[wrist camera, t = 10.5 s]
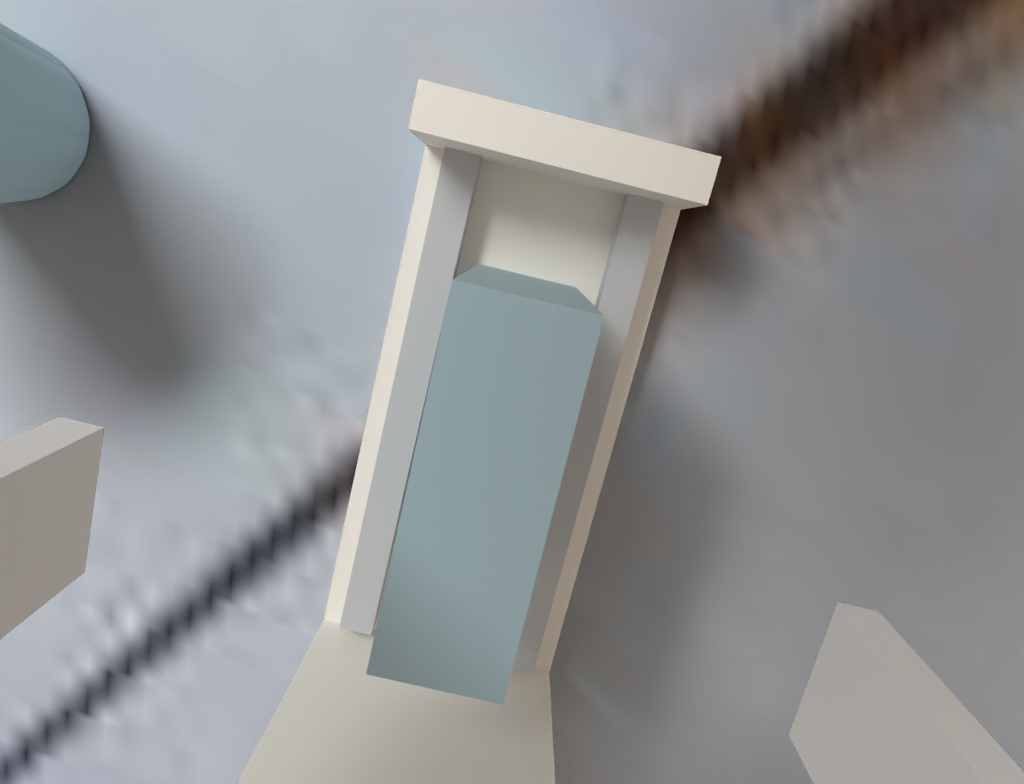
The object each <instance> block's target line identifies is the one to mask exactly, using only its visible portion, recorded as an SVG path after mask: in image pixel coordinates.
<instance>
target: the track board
mask: <svg viewBox="0 0 1024 784" xmlns="http://www.w3.org/2000/svg"><path fill="white" fill-rule="evenodd" d="M408 129H409V130H410V131H411V132H412V133H414V134H415V135H416V136H417V137H418V138H419V139H420V140H421V141H422V142H423V143H424V144H426V146H425V151H424V156H423V160H422V165H421V170H420V174H419V179H418V184H417V188H416V193H415V198H414V202H413V207H412V212H411V216H410V221H409V225H408V230H407V235H406V239H405V244H404V249H403V253H402V258H401V263H400V267H399V272H398V277H397V281H396V286H395V291H394V295H393V300H392V305H391V309H390V314H389V319H388V323H387V328H386V332H385V337H384V342H383V346H382V351H381V356H380V360H379V365H378V370H377V374H376V379H375V384H374V388H373V393H372V398H371V402H370V407H369V412H368V416H367V421H366V426H365V430H364V435H363V439H362V444H361V449H360V453H359V458H358V463H357V467H356V472H355V477H354V481H353V486H352V491H351V495H350V500H349V505H348V509H347V514H346V519H345V523H344V528H343V533H342V537H341V542H340V546H339V551H338V556H337V560H336V565H335V570H334V574H333V579H332V584H331V588H330V593H329V598H328V602H327V607H326V612H325V616H324V620H323V622H322V624H321V626H320V628H319V629H318V631H317V633H316V635H315V637H314V639H313V641H312V643H311V645H310V646H309V648H308V650H307V652H306V654H305V656H304V658H303V660H302V662H301V664H300V665H299V667H298V669H297V671H296V673H295V675H294V677H293V679H292V681H291V682H290V684H289V686H288V688H287V690H286V692H285V694H284V696H283V698H282V700H281V701H280V703H279V705H278V707H277V709H276V711H275V713H274V715H273V717H272V718H271V720H270V722H269V724H268V726H267V728H266V730H265V732H264V734H263V736H262V737H261V739H260V741H259V743H258V745H257V747H256V749H255V751H254V753H253V754H252V756H251V758H250V760H249V762H248V764H247V766H246V768H245V770H244V772H243V773H242V775H241V777H240V779H239V781H238V783H237V784H555V767H554V748H553V730H552V711H551V693H550V674H549V672H550V668H551V665H552V661H553V658H554V654H555V651H556V647H557V644H558V640H559V637H560V633H561V630H562V626H563V622H564V619H565V615H566V612H567V608H568V605H569V601H570V598H571V594H572V591H573V587H574V584H575V580H576V577H577V573H578V570H579V566H580V563H581V559H582V556H583V552H584V548H585V545H586V541H587V538H588V534H589V531H590V527H591V524H592V520H593V517H594V513H595V510H596V506H597V503H598V499H599V496H600V492H601V489H602V485H603V481H604V478H605V474H606V471H607V467H608V464H609V460H610V457H611V453H612V450H613V446H614V443H615V439H616V436H617V432H618V429H619V425H620V422H621V418H622V415H623V411H624V407H625V404H626V400H627V397H628V393H629V390H630V386H631V383H632V379H633V376H634V372H635V369H636V365H637V362H638V358H639V355H640V351H641V348H642V344H643V340H644V337H645V333H646V330H647V326H648V323H649V319H650V316H651V312H652V309H653V305H654V302H655V298H656V295H657V291H658V288H659V284H660V281H661V277H662V274H663V270H664V266H665V263H666V259H667V256H668V252H669V249H670V245H671V242H672V238H673V235H674V231H675V228H676V224H677V221H678V217H679V214H680V210H682V209H688V208H694V207H699V206H705V205H708V201H709V198H710V195H711V191H712V188H713V184H714V181H715V177H716V174H717V170H718V167H719V164H720V160H721V157H720V156H716V155H712V154H708V153H704V152H701V151H697V150H693V149H689V148H685V147H681V146H677V145H673V144H670V143H666V142H662V141H658V140H654V139H650V138H646V137H642V136H638V135H635V134H631V133H627V132H623V131H619V130H615V129H611V128H607V127H604V126H600V125H596V124H592V123H588V122H584V121H580V120H576V119H573V118H569V117H565V116H561V115H557V114H553V113H549V112H545V111H541V110H538V109H534V108H530V107H526V106H522V105H518V104H514V103H510V102H507V101H503V100H499V99H495V98H491V97H487V96H483V95H479V94H476V93H472V92H468V91H464V90H460V89H456V88H452V87H448V86H444V85H441V84H437V83H433V82H429V81H425V80H421V79H419V80H418V85H417V89H416V94H415V99H414V104H413V108H412V113H411V118H410V123H409V128H408ZM478 264H482V265H486V266H490V267H494V268H498V269H502V270H507V271H511V272H515V273H519V274H523V275H527V276H532V277H536V278H540V279H544V280H548V281H552V282H557V283H561V284H565V285H569V286H573V287H576V288H577V289H578V290H579V291H580V292H581V293H582V294H583V295H584V296H585V297H586V298H587V299H588V300H589V301H590V302H591V303H592V304H593V305H594V306H595V307H596V308H597V309H598V310H599V311H600V312H601V313H602V314H603V315H604V320H603V323H602V327H601V331H600V335H599V339H598V343H597V346H596V350H595V354H594V358H593V362H592V366H591V369H590V373H589V377H588V381H587V385H586V389H585V392H584V396H583V400H582V404H581V408H580V412H579V415H578V419H577V423H576V427H575V431H574V435H573V438H572V442H571V446H570V450H569V454H568V458H567V461H566V465H565V469H564V473H563V477H562V481H561V484H560V488H559V492H558V496H557V500H556V504H555V507H554V511H553V515H552V519H551V523H550V527H549V530H548V534H547V538H546V542H545V546H544V550H543V553H542V557H541V561H540V565H539V569H538V573H537V576H536V580H535V584H534V588H533V592H532V596H531V599H530V603H529V607H528V611H527V615H526V619H525V622H524V626H523V630H522V634H521V638H520V642H519V645H518V649H517V653H516V657H515V661H514V665H513V668H512V672H511V676H510V680H509V684H508V688H507V691H506V695H505V699H504V703H503V705H501V704H497V703H492V702H488V701H483V700H479V699H474V698H470V697H465V696H461V695H456V694H452V693H448V692H443V691H439V690H434V689H430V688H425V687H421V686H416V685H412V684H407V683H403V682H398V681H394V680H389V679H385V678H380V677H376V676H371V675H367V674H366V672H367V667H368V663H369V658H370V654H371V649H372V645H373V640H374V635H375V631H376V626H377V622H378V617H379V613H380V608H381V603H382V599H383V594H384V590H385V585H386V581H387V576H388V571H389V567H390V562H391V558H392V553H393V549H394V544H395V539H396V535H397V530H398V526H399V521H400V517H401V512H402V508H403V503H404V498H405V494H406V489H407V485H408V480H409V476H410V471H411V466H412V462H413V457H414V453H415V448H416V444H417V439H418V434H419V430H420V425H421V421H422V416H423V412H424V407H425V402H426V398H427V393H428V389H429V384H430V380H431V375H432V370H433V366H434V361H435V357H436V352H437V348H438V343H439V338H440V334H441V329H442V325H443V320H444V316H445V311H446V306H447V302H448V297H449V293H450V288H451V284H452V279H454V278H456V277H458V276H459V275H461V274H463V273H464V272H466V271H468V270H470V269H471V268H473V267H475V266H476V265H478Z"/></svg>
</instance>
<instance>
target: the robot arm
mask: <svg viewBox="0 0 1024 784" xmlns="http://www.w3.org/2000/svg"><path fill="white" fill-rule="evenodd" d="M103 432H104V427H101V426H97V425H92V424H88V423H84V422H80V421H76V420H71V419H67V418H63V417H58V418H55V419H53V420H51V421H48V422H46V423H44V424H41V425H39V426H36V427H34V428H32V429H29V430H27V431H25V432H22V433H20V434H18V435H15V436H13V437H10V438H8V439H6V440H3V441H1V442H0V639H1V638H3V637H4V636H5V635H6V634H8V633H9V632H10V631H11V630H13V629H14V628H15V627H16V626H18V625H19V624H20V623H21V622H23V621H24V620H25V619H26V618H28V617H29V616H30V615H31V614H33V613H34V612H35V611H36V610H38V609H39V608H40V607H41V606H43V605H44V604H45V603H46V602H48V601H49V600H50V599H51V598H53V597H54V596H55V595H56V594H58V593H59V592H60V591H61V590H63V589H64V588H65V587H66V586H68V585H69V584H70V583H71V582H73V581H74V580H75V579H76V578H78V577H79V576H80V575H82V574H83V573H84V572H85V567H86V559H87V552H88V544H89V537H90V529H91V522H92V514H93V507H94V499H95V492H96V485H97V477H98V470H99V462H100V455H101V447H102V440H103ZM789 736H790V738H791V740H792V742H793V744H794V746H795V748H796V750H797V752H798V754H799V756H800V758H801V760H802V762H803V764H804V766H805V768H806V770H807V772H808V774H809V775H810V777H811V779H812V781H813V783H814V784H1024V772H1023V771H1022V769H1021V768H1020V767H1019V766H1018V765H1017V764H1016V763H1015V762H1014V761H1013V759H1012V758H1011V757H1010V756H1009V755H1008V754H1007V753H1006V752H1005V751H1004V750H1003V748H1002V747H1001V746H1000V745H999V744H998V743H997V742H996V741H995V740H994V738H993V737H992V736H991V735H990V734H989V733H988V732H987V731H986V730H985V728H984V727H983V726H982V725H981V724H980V723H979V722H978V721H977V720H976V719H975V717H974V716H973V715H972V714H971V713H970V712H969V711H968V710H967V709H966V707H965V706H964V705H963V704H962V703H961V702H960V701H959V700H958V699H957V698H956V696H955V695H954V694H953V693H952V692H951V691H950V690H949V689H948V688H947V686H946V685H945V684H944V683H943V682H942V681H941V680H940V679H939V678H938V676H937V675H936V674H935V673H934V672H933V671H932V670H931V669H930V668H929V667H928V665H927V664H926V663H925V662H924V661H923V660H922V659H921V658H920V657H919V655H918V654H917V653H916V652H915V651H914V650H913V649H912V648H911V647H910V645H909V644H908V643H907V642H906V641H905V640H904V639H903V638H902V637H901V636H900V634H899V633H898V632H897V631H896V630H895V629H894V628H893V627H892V626H891V624H890V623H889V622H888V621H887V620H886V619H885V618H884V617H883V616H882V615H881V613H880V612H878V611H874V610H870V609H865V608H861V607H857V606H853V605H849V604H844V603H840V602H838V603H837V605H836V608H835V611H834V613H833V616H832V619H831V621H830V624H829V627H828V629H827V632H826V635H825V637H824V640H823V643H822V646H821V648H820V651H819V654H818V656H817V659H816V662H815V664H814V667H813V670H812V672H811V675H810V678H809V680H808V683H807V686H806V689H805V691H804V694H803V697H802V699H801V702H800V705H799V707H798V710H797V713H796V715H795V718H794V721H793V723H792V726H791V729H790V731H789Z"/></svg>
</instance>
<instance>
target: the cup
mask: <svg viewBox="0 0 1024 784" xmlns="http://www.w3.org/2000/svg"><path fill="white" fill-rule="evenodd" d="M89 134H90V119H89V114H88V110H87V106H86V103H85V100H84V97H83V94H82V91H81V89H80V87H79V85H78V84H77V82H76V80H75V79H74V78H73V77H72V75H71V74H70V73H69V72H68V70H67V69H66V68H65V67H64V65H63V64H62V63H61V62H60V61H59V60H58V59H57V58H56V57H55V56H53V55H52V54H51V53H49V52H48V51H46V50H45V49H43V48H41V47H40V46H38V45H36V44H35V43H33V42H31V41H30V40H28V39H26V38H25V37H23V36H21V35H20V34H18V33H16V32H14V31H13V30H11V29H9V28H8V27H6V26H4V25H3V24H1V23H0V203H9V202H18V201H27V200H33V199H39V198H42V197H44V196H47V195H49V194H50V193H52V192H54V191H56V190H58V189H60V188H62V187H63V186H65V185H66V184H67V183H68V182H69V181H70V180H71V179H72V178H73V176H74V175H75V173H76V172H77V171H78V169H79V167H80V166H81V164H82V162H83V160H84V158H85V156H86V153H87V149H88V142H89Z"/></svg>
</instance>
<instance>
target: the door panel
mask: <svg viewBox="0 0 1024 784" xmlns="http://www.w3.org/2000/svg"><path fill="white" fill-rule="evenodd" d="M603 320H604V315H603V314H602V313H601V312H600V311H599V310H598V309H597V308H596V307H595V306H594V305H593V304H592V303H591V302H590V301H589V300H588V299H587V298H586V297H585V296H584V295H583V294H582V293H581V292H580V291H579V290H578V289H577V288H576V287H573V286H569V285H565V284H561V283H557V282H552V281H548V280H544V279H540V278H536V277H532V276H527V275H523V274H519V273H515V272H511V271H507V270H502V269H498V268H494V267H490V266H486V265H482V264H478V265H476V266H475V267H473V268H471V269H470V270H468V271H466V272H464V273H463V274H461V275H459V276H458V277H456V278H454V279H452V284H451V288H450V293H449V297H448V302H447V306H446V311H445V316H444V320H443V325H442V329H441V334H440V338H439V343H438V348H437V352H436V357H435V361H434V366H433V370H432V375H431V380H430V384H429V389H428V393H427V398H426V402H425V407H424V412H423V416H422V421H421V425H420V430H419V434H418V439H417V444H416V448H415V453H414V457H413V462H412V466H411V471H410V476H409V480H408V485H407V489H406V494H405V498H404V503H403V508H402V512H401V517H400V521H399V526H398V530H397V535H396V539H395V544H394V549H393V553H392V558H391V562H390V567H389V571H388V576H387V581H386V585H385V590H384V594H383V599H382V603H381V608H380V613H379V617H378V622H377V626H376V631H375V635H374V640H373V645H372V649H371V654H370V658H369V663H368V667H367V672H366V674H367V675H371V676H376V677H380V678H385V679H389V680H394V681H398V682H403V683H407V684H412V685H416V686H421V687H425V688H430V689H434V690H439V691H443V692H448V693H452V694H456V695H461V696H465V697H470V698H474V699H479V700H483V701H488V702H492V703H497V704H501V705H503V703H504V699H505V695H506V691H507V688H508V684H509V680H510V676H511V672H512V668H513V665H514V661H515V657H516V653H517V649H518V645H519V642H520V638H521V634H522V630H523V626H524V622H525V619H526V615H527V611H528V607H529V603H530V599H531V596H532V592H533V588H534V584H535V580H536V576H537V573H538V569H539V565H540V561H541V557H542V553H543V550H544V546H545V542H546V538H547V534H548V530H549V527H550V523H551V519H552V515H553V511H554V507H555V504H556V500H557V496H558V492H559V488H560V484H561V481H562V477H563V473H564V469H565V465H566V461H567V458H568V454H569V450H570V446H571V442H572V438H573V435H574V431H575V427H576V423H577V419H578V415H579V412H580V408H581V404H582V400H583V396H584V392H585V389H586V385H587V381H588V377H589V373H590V369H591V366H592V362H593V358H594V354H595V350H596V346H597V343H598V339H599V335H600V331H601V327H602V323H603Z"/></svg>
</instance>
